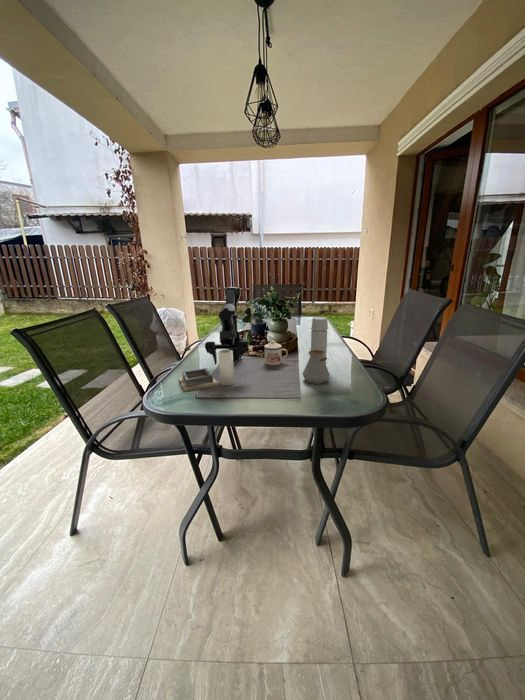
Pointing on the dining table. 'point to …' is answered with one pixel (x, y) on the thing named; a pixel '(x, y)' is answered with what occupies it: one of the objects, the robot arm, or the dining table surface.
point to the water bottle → (319, 334)
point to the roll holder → (197, 379)
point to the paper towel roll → (226, 367)
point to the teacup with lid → (273, 353)
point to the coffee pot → (316, 368)
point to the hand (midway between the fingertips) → (226, 364)
